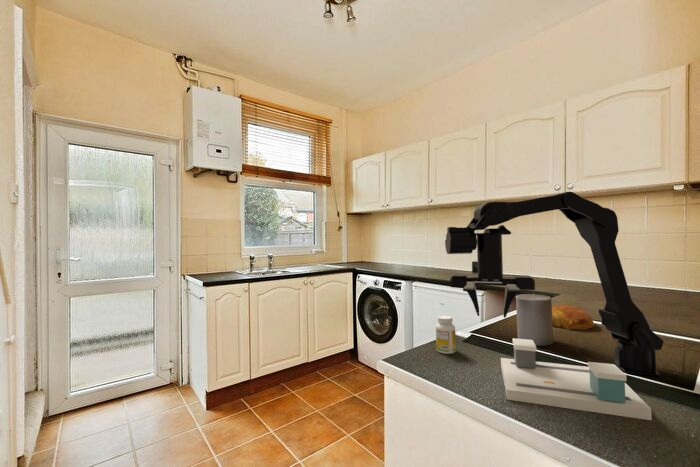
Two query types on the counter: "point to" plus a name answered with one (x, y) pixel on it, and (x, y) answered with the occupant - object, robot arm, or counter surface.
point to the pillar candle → (535, 318)
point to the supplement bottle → (445, 335)
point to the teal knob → (607, 381)
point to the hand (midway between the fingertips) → (491, 316)
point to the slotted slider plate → (565, 389)
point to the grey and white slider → (524, 353)
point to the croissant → (571, 317)
